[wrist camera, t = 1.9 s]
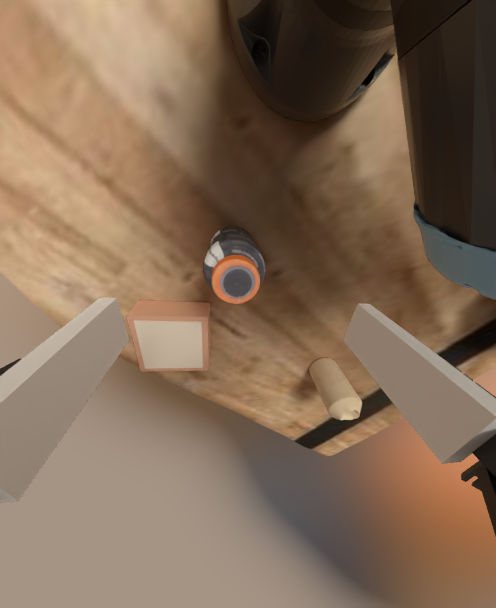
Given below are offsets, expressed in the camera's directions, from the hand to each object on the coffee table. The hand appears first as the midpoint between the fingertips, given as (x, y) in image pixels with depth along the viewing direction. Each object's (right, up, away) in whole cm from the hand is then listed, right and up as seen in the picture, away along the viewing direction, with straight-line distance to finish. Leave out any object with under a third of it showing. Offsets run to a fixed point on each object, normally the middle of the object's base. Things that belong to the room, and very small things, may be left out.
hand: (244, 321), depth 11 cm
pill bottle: (-2, +8, +15) cm, 17 cm away
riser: (-11, -3, +20) cm, 23 cm away
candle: (+15, -12, +27) cm, 33 cm away
